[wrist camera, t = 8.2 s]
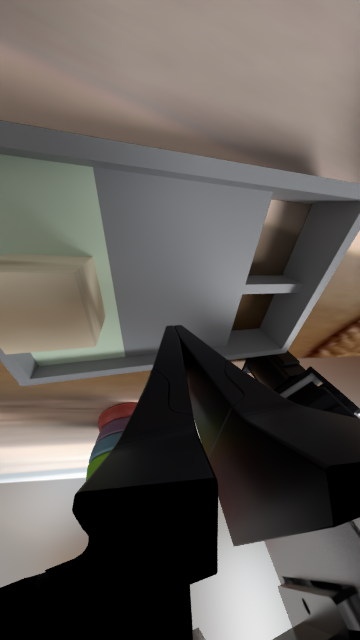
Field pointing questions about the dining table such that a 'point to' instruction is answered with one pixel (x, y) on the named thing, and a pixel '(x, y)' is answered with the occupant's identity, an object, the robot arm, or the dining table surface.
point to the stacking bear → (109, 433)
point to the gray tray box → (164, 244)
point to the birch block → (49, 303)
